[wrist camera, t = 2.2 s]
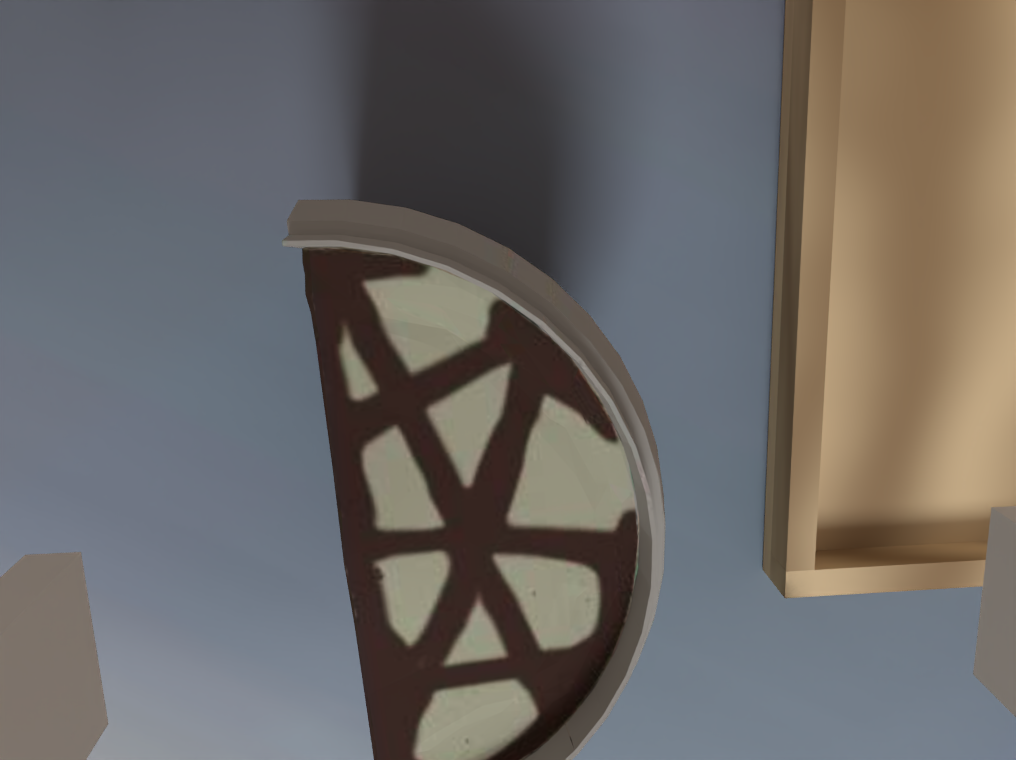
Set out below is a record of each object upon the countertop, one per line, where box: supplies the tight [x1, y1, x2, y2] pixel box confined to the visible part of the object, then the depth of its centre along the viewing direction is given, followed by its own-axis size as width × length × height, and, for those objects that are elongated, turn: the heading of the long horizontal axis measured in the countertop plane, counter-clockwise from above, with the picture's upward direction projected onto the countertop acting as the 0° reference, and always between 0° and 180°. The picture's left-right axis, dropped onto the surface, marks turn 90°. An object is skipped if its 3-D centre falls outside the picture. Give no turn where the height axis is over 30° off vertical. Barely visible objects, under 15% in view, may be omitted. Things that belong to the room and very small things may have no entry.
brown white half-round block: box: [282, 200, 665, 760], centre depth 20 cm, size 12×6×10 cm, turn 5°
